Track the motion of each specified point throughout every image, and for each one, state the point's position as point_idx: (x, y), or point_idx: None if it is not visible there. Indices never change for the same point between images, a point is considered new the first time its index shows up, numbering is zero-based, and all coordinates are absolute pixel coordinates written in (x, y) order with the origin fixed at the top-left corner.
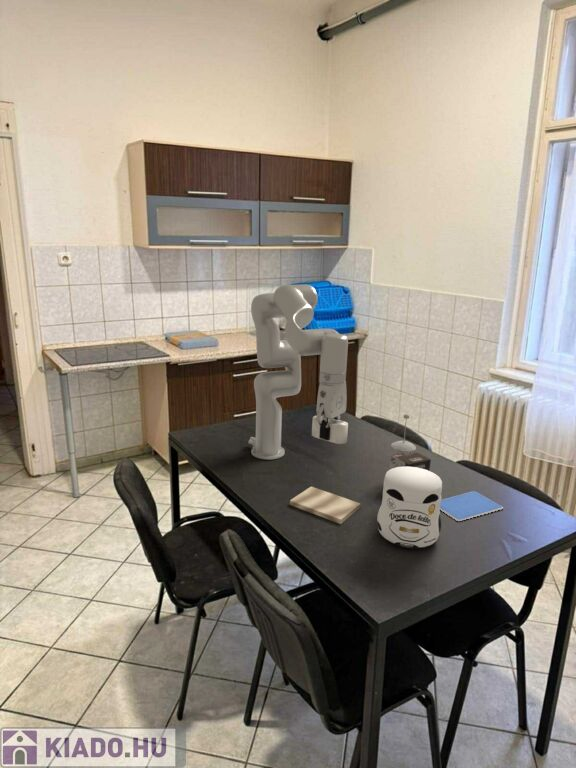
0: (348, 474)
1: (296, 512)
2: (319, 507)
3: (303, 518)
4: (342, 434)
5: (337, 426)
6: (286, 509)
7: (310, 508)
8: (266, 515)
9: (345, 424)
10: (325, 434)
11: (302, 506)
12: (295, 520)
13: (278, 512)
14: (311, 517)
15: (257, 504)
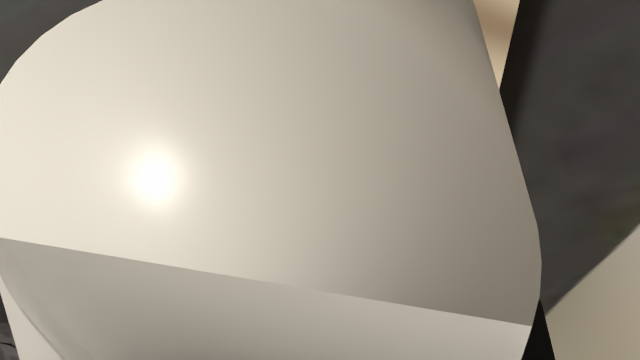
0: (4, 45)
1: (537, 102)
2: (476, 5)
3: (585, 42)
4: (455, 7)
5: (534, 275)
6: (530, 157)
7: (508, 46)
8: (633, 210)
9: (212, 85)
10: (547, 332)
11: None
12: (625, 70)
13: (578, 176)
14: (555, 9)
15: (546, 280)
